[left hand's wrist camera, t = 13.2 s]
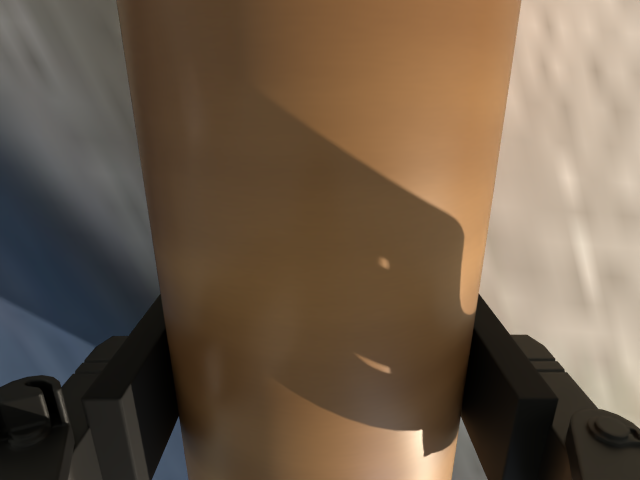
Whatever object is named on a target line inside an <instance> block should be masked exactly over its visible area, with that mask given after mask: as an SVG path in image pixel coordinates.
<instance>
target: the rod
mask: <svg viewBox="0 0 640 480" xmlns="http://www.w3.org/2000/svg"><path fill="white" fill-rule="evenodd" d="M116 1H117V8H118V14H119V21H120V27H121V34H122V41H123V47H124V54H125V61H126V67H127V74H128V81H129V87H130V94H131V100H132V107H133V114H134V120H135V127H136V134H137V140H138V147H139V154H140V160H141V167H142V173H143V180H144V187H145V193H146V200H147V207H148V213H149V220H150V227H151V233H152V240H153V246H154V253H155V260H156V266H157V273H158V280H159V286H160V293H161V300H162V306H163V313H164V319H165V326H166V333H167V339H168V346H169V353H170V359H171V366H172V373H173V379H174V386H175V392H176V399H177V406H178V412H179V419H180V426H181V432H182V439H183V446H184V452H185V459H186V465H187V472H188V479H189V480H451V478H452V472H453V465H454V458H455V451H456V444H457V437H458V430H459V424H460V417H461V410H462V403H463V396H464V389H465V383H466V376H467V369H468V362H469V355H470V348H471V341H472V335H473V328H474V321H475V314H476V307H477V300H478V294H479V287H480V280H481V273H482V266H483V259H484V252H485V246H486V239H487V232H488V225H489V218H490V211H491V204H492V198H493V191H494V184H495V177H496V170H497V163H498V157H499V150H500V143H501V136H502V129H503V122H504V115H505V109H506V102H507V95H508V88H509V81H510V74H511V67H512V61H513V54H514V47H515V40H516V33H517V26H518V20H519V13H520V6H521V0H116Z"/></svg>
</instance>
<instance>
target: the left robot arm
mask: <svg viewBox="0 0 640 480" xmlns="http://www.w3.org/2000/svg"><path fill="white" fill-rule="evenodd" d="M178 417H179V412H178V406H177V399H176V392H175V386H174V379H173V373H172V366H171V359H170V353H169V346H168V339H167V333H166V326H165V319H164V313H163V306H162V300H161V294H160V295H159V297H158V298H157V299H156V301H155V302H154V303H153V305H152V306H151V307H150V308H149V310H148V311H147V312H146V314H145V315H144V316H143V318H142V319H141V320H140V322H139V323H138V324H137V326H136V327H135V328H134V330H133V331H132V332H131V333H130V335H129V336H112V337H111V338H109V339H108V340H106V341H104V342H103V343H101V344H100V345H98V346H97V347H95V349H94V350H93V351H92V352H91V353H90V354H89V356H88V357H87V358H86V359H85V362H84V363H82V364H81V365H80V366H79V367H78V369H77V370H76V371H75V374H72V376H71V377H70V378H69V379H68V380H67V381H66V383H65V384H64V385H63V386H62V387H61V385H60V382H59V381H58V380H57V379H55V378H54V377H50V376H44V375H40V376H31V377H25V378H22V379H19V380H15V381H12V382H10V383H8V384H6V385H4V386H2V387H0V480H152V478H153V475H154V473H155V471H156V468H157V466H158V464H159V461H160V459H161V456H162V454H163V452H164V449H165V447H166V445H167V442H168V440H169V438H170V435H171V433H172V431H173V428H174V426H175V424H176V421H177V419H178ZM461 418H462V420H463V422H464V425H465V427H466V429H467V432H468V434H469V436H470V439H471V441H472V443H473V446H474V448H475V450H476V453H477V455H478V458H479V460H480V462H481V465H482V467H483V469H484V472H485V474H486V476H487V479H488V480H640V429H639V428H638V427H637V426H636V425H634V424H633V423H632V422H630V421H628V420H626V419H625V418H623V417H621V416H619V415H617V414H614V413H611V412H608V411H605V410H602V409H598V408H597V407H596V406H595V404H594V403H593V402H592V401H591V400H590V399H589V398H588V396H587V395H586V394H585V393H584V392H583V391H582V389H581V388H580V387H579V386H578V385H577V384H576V382H575V381H574V380H573V379H572V378H571V377H570V375H569V374H568V373H567V372H565V371H564V368H563V367H562V366H561V365H560V364H559V363H558V361H555V358H554V357H553V356H552V354H551V353H550V352H549V351H548V350H547V349H546V347H545V346H544V345H542V344H540V343H539V342H537V341H536V340H534V339H533V338H531V337H530V336H528V335H510V334H509V333H508V331H507V330H506V329H505V328H504V326H503V325H502V324H501V322H500V321H499V320H498V318H497V317H496V316H495V314H494V313H493V312H492V310H491V309H490V308H489V306H488V305H487V304H486V303H485V301H484V300H483V299H482V297H481V296H480V295H479V294H478V300H477V307H476V314H475V321H474V328H473V335H472V341H471V348H470V355H469V362H468V369H467V376H466V383H465V389H464V396H463V403H462V410H461Z"/></svg>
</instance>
